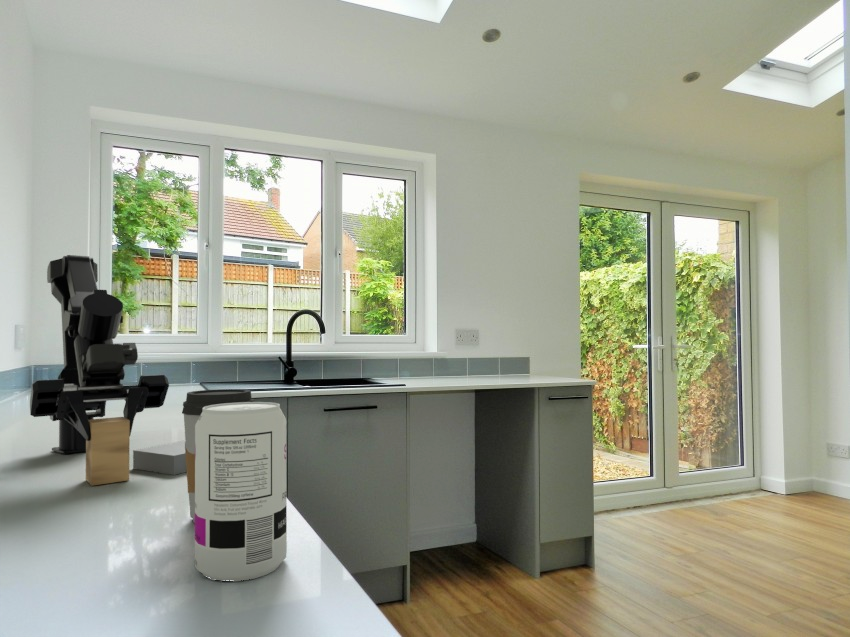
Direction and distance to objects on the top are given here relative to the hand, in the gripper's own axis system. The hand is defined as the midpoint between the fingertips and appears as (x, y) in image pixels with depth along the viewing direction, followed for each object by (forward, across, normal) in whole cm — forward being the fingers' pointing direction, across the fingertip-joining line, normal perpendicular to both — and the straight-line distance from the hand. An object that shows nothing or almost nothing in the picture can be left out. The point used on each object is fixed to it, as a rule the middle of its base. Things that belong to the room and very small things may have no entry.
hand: (109, 436), depth 87 cm
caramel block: (+4, 0, +6) cm, 7 cm away
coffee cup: (+25, +7, -15) cm, 29 cm away
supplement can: (+36, +3, -26) cm, 45 cm away
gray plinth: (+1, +12, +8) cm, 14 cm away
